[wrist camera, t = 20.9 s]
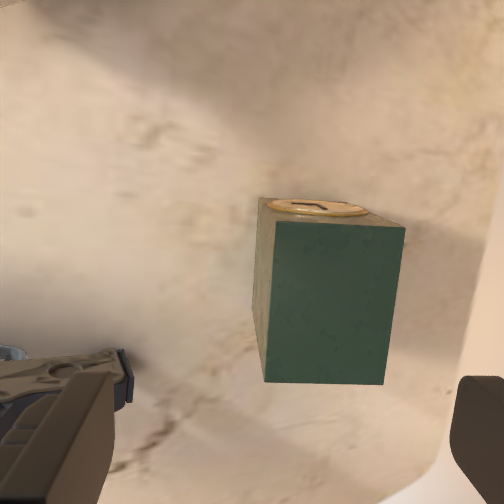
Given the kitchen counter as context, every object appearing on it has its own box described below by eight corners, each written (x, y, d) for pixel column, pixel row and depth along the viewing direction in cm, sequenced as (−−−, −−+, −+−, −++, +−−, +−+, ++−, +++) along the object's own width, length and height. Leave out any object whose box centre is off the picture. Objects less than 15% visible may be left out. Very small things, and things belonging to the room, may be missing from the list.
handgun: (59, 300, 37) (-124, 329, 28) (156, 367, 28) (-64, 440, 19) (58, 327, 37) (-122, 364, 28) (152, 400, 29) (-63, 487, 20)
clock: (383, 385, 21) (407, 221, 19) (264, 382, 21) (276, 214, 19) (334, 312, 31) (346, 198, 29) (251, 309, 31) (259, 193, 29)
